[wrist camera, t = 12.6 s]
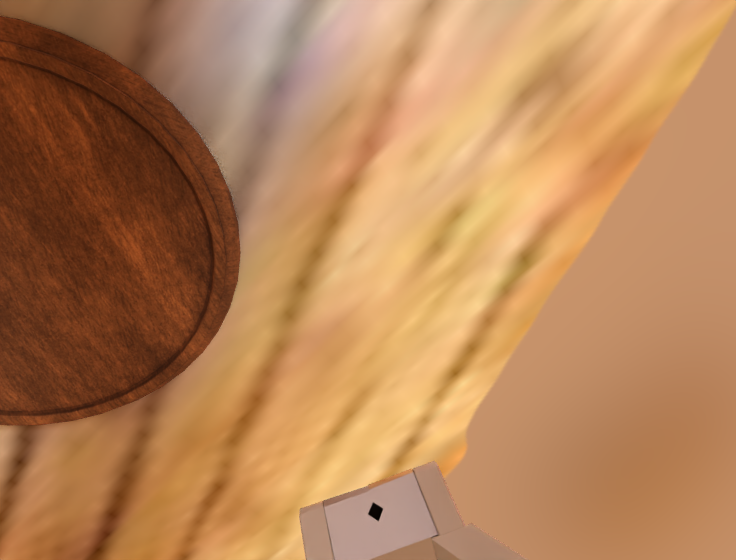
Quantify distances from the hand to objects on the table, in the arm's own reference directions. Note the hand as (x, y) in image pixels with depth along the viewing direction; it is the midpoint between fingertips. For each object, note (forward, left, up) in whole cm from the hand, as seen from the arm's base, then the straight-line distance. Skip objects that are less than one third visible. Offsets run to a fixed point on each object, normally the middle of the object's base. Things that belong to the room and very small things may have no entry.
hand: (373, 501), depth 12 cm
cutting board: (+20, +4, -35) cm, 40 cm away
